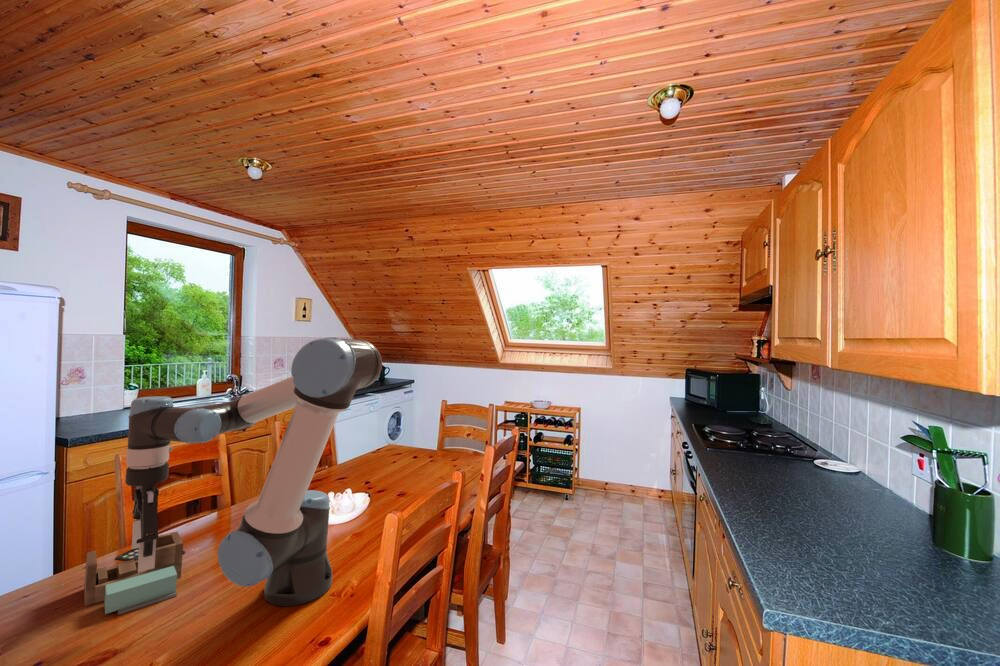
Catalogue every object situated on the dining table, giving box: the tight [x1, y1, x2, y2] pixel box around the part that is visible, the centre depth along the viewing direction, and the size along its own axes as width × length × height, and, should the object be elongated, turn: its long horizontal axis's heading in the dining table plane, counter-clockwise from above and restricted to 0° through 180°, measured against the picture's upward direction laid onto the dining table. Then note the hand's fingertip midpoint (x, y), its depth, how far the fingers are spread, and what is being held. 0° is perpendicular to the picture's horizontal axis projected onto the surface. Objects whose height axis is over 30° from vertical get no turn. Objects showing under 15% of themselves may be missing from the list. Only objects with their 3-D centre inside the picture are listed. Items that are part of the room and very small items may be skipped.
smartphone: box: [115, 548, 186, 562], centre depth 112 cm, size 7×1×15 cm
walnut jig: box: [83, 531, 184, 607], centre depth 99 cm, size 17×8×8 cm, turn 136°
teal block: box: [103, 566, 178, 615], centre depth 93 cm, size 12×5×4 cm, turn 136°
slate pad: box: [117, 591, 178, 616], centre depth 94 cm, size 7×10×1 cm
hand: (142, 558), depth 93 cm, fingers open, 13 cm apart
